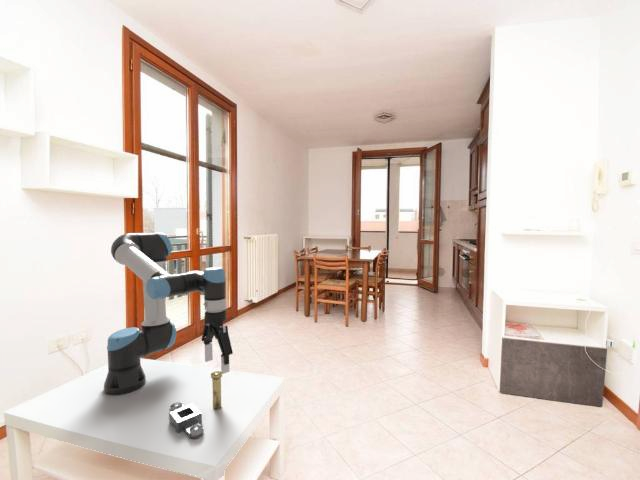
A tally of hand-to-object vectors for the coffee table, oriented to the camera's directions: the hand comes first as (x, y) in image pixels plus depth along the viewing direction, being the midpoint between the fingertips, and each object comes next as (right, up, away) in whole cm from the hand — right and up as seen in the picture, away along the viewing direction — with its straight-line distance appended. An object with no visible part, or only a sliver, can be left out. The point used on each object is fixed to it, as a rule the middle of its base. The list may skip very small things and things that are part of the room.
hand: (216, 366), depth 119 cm
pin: (0, -16, +1) cm, 16 cm away
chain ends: (-8, -16, -8) cm, 20 cm away
